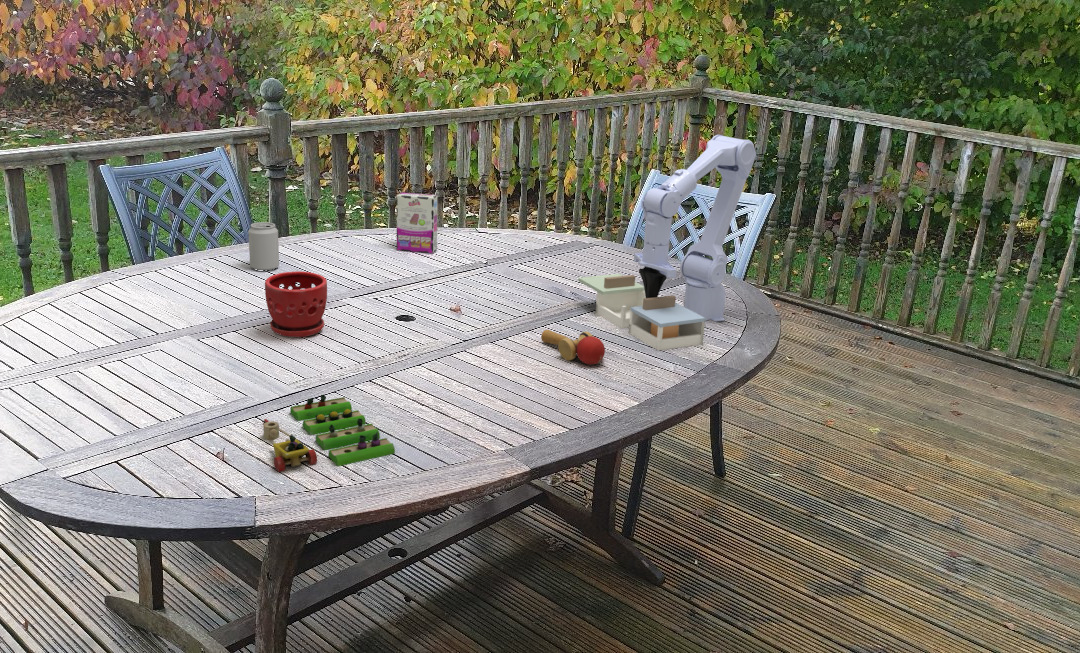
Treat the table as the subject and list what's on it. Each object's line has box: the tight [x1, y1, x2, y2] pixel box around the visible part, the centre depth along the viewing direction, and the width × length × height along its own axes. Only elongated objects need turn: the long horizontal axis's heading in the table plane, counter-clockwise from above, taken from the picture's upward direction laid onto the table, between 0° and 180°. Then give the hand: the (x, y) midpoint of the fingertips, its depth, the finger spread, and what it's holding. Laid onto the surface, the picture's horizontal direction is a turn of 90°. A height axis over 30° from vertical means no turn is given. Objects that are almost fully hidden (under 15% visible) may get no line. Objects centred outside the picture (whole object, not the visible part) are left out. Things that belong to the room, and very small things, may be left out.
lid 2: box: [631, 294, 706, 327], centre depth 218 cm, size 12×12×3 cm
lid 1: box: [577, 273, 645, 295], centre depth 238 cm, size 12×12×3 cm
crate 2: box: [628, 311, 706, 351], centre depth 219 cm, size 12×12×6 cm
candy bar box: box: [395, 192, 439, 254], centre depth 281 cm, size 11×5×16 cm, turn 81°
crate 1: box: [594, 290, 646, 329], centre depth 232 cm, size 12×12×6 cm
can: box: [247, 221, 280, 271], centre depth 256 cm, size 8×8×12 cm
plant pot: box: [264, 270, 328, 338], centre depth 212 cm, size 13×13×12 cm
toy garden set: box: [263, 393, 396, 473], centre depth 165 cm, size 23×19×5 cm
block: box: [650, 322, 679, 339], centre depth 217 cm, size 4×4×4 cm
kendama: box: [540, 329, 606, 366], centre depth 209 cm, size 8×6×18 cm
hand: (651, 299), depth 223 cm, fingers closed
